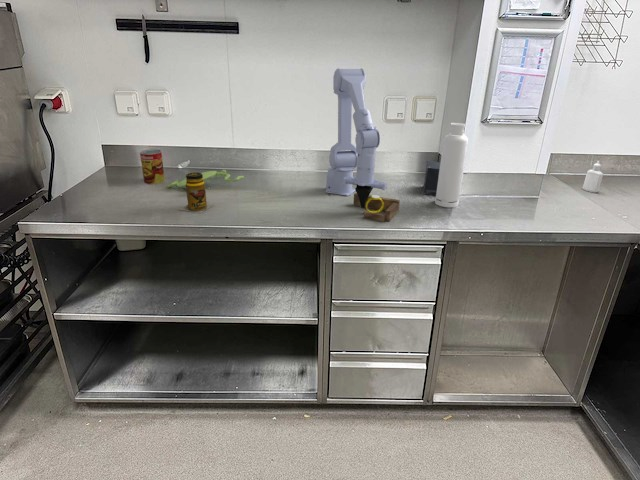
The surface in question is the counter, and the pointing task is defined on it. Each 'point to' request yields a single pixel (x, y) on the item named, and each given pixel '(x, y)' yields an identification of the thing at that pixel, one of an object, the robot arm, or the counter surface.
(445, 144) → the bottle
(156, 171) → the canned food
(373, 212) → the watch
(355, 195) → the wooden u-shaped block
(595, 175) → the eye dropper bottle
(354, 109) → the robot arm
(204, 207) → the condiment
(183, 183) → the figurine
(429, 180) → the small box
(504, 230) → the counter surface
